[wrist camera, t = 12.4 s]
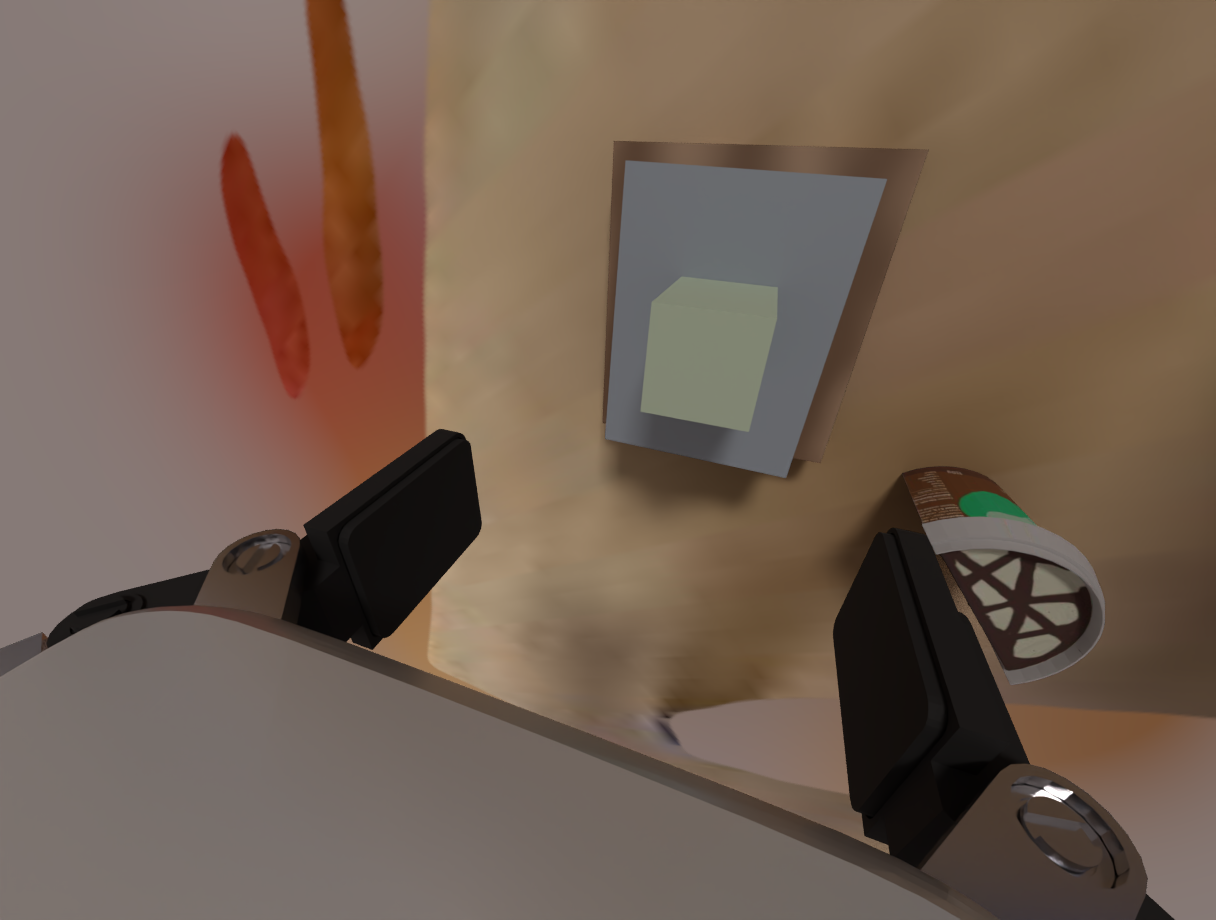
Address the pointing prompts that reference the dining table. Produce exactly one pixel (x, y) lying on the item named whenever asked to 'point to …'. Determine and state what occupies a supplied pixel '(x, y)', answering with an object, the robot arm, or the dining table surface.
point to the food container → (1010, 572)
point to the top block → (742, 253)
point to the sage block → (708, 351)
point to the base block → (871, 269)
